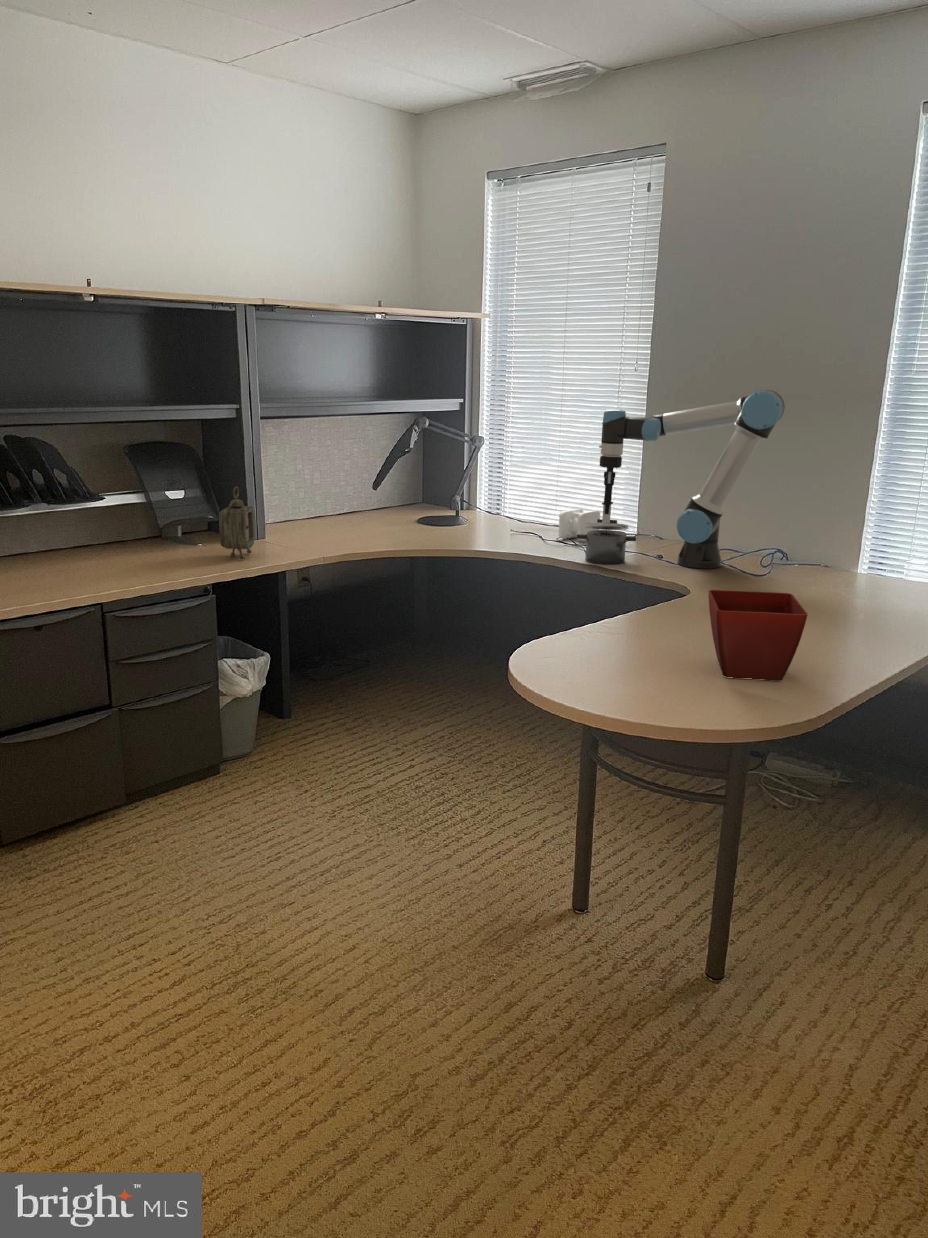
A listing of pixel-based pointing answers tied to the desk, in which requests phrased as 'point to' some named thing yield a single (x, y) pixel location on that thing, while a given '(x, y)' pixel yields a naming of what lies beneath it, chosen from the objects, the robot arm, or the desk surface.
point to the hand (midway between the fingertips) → (605, 522)
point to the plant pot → (755, 632)
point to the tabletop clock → (237, 526)
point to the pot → (605, 546)
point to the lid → (607, 525)
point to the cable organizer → (576, 522)
